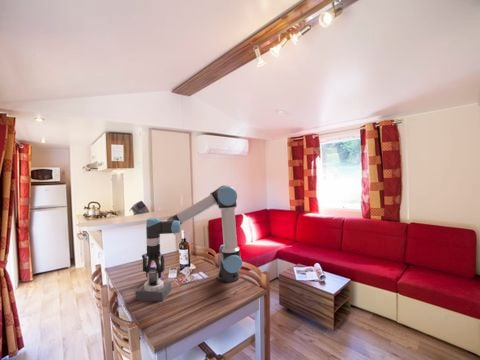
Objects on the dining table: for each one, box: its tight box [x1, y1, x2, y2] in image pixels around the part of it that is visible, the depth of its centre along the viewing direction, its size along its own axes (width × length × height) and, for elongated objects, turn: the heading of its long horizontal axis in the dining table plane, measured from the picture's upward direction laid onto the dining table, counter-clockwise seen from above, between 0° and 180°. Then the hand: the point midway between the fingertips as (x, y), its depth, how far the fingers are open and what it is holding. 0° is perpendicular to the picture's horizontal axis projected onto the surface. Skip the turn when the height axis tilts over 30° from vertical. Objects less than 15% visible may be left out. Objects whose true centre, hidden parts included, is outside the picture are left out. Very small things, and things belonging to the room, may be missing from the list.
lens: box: [149, 267, 158, 285], centre depth 135 cm, size 5×5×9 cm
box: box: [150, 260, 165, 281], centre depth 154 cm, size 10×6×12 cm, turn 168°
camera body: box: [135, 279, 172, 302], centre depth 135 cm, size 16×12×7 cm
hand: (153, 283), depth 135 cm, fingers closed on lens, 5 cm apart
